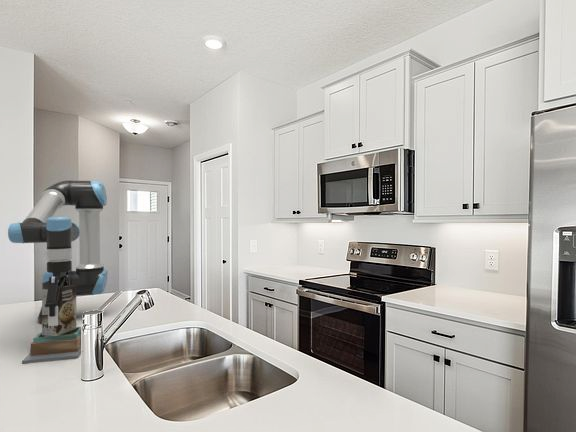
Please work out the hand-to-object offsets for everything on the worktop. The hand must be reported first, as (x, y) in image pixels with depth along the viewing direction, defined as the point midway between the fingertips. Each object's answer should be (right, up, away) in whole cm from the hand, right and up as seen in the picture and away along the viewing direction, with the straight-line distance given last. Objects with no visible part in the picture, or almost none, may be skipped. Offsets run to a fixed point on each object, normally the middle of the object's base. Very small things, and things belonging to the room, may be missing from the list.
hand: (59, 320), depth 130 cm
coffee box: (0, -4, 0) cm, 4 cm away
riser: (0, -11, 0) cm, 11 cm away
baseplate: (0, -11, 0) cm, 11 cm away
